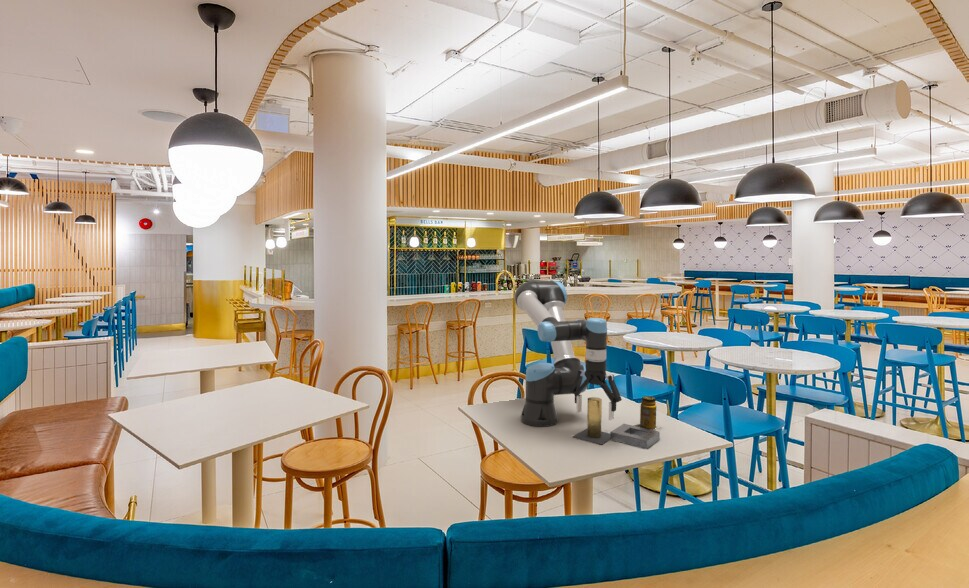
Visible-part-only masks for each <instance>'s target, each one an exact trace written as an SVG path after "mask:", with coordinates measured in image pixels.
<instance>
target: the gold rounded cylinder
mask: <svg viewBox="0 0 969 588" xmlns="http://www.w3.org/2000/svg"><path fill="white" fill-rule="evenodd" d="M602 405H603V399H602V398H601V397H596V396H591V397H587V410H586V411H587V416H586V417H587V422H586V423H587V424H586V425H587V426H586V429H587V436H589V437H592V438H599V437H601V431H602V415H603V414H602V413H603V411H602V410H603V409H602V408H603V407H602Z"/></svg>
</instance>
